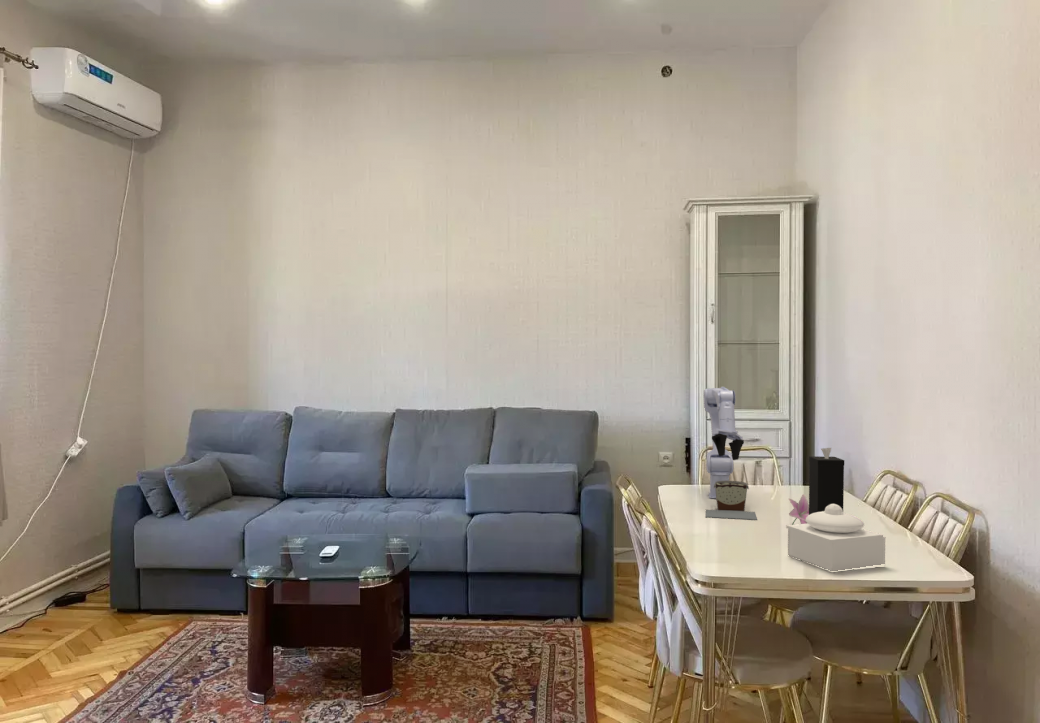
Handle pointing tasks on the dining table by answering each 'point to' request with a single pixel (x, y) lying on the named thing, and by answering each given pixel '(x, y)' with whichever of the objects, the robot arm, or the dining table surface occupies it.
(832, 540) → the butter dish
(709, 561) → the dining table surface
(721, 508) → the food container
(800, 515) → the lily
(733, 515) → the mat
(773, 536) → the dining table surface
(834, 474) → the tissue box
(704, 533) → the dining table surface
